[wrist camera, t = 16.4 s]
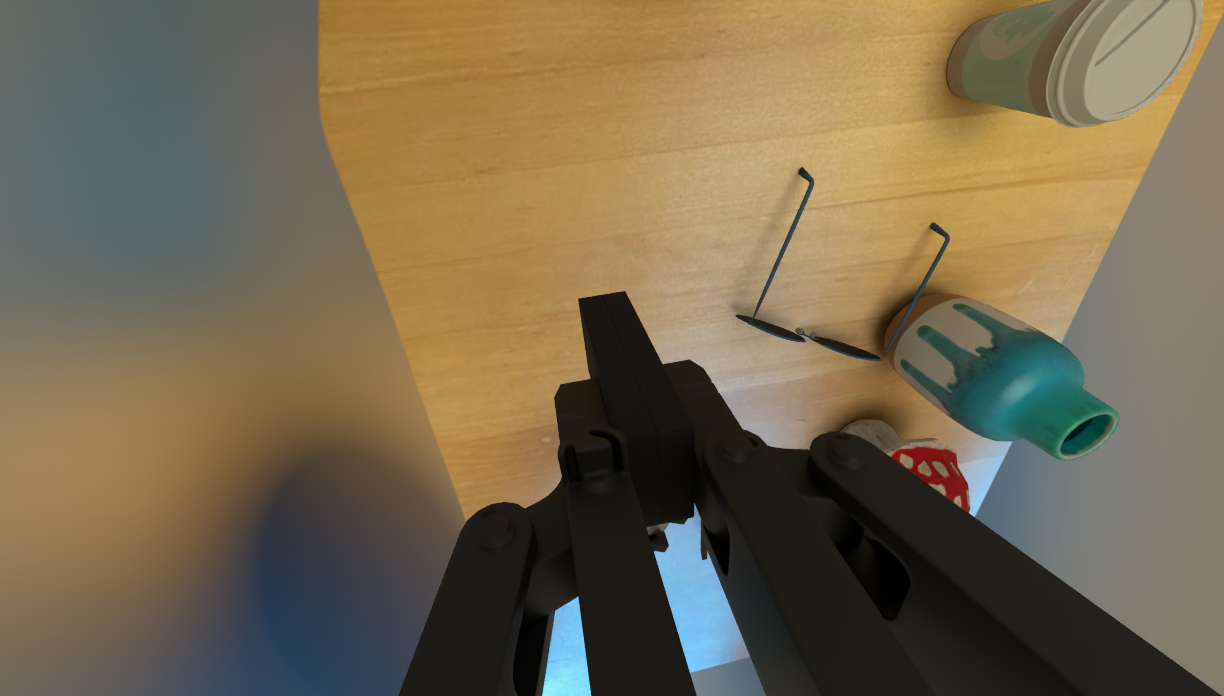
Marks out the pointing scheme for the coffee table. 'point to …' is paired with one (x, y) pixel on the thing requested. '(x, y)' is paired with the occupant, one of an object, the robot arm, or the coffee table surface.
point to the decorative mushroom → (918, 458)
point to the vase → (998, 376)
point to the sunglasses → (825, 342)
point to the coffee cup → (1076, 57)
